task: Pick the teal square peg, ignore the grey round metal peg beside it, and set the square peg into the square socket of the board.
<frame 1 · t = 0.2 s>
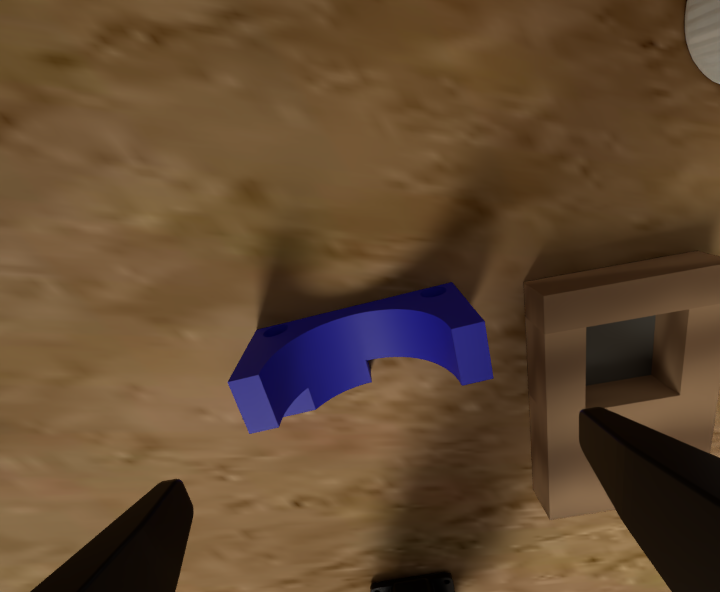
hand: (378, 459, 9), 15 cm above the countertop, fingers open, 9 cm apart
socket board: (605, 383, 25), on the countertop
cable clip: (361, 336, 24), on the countertop
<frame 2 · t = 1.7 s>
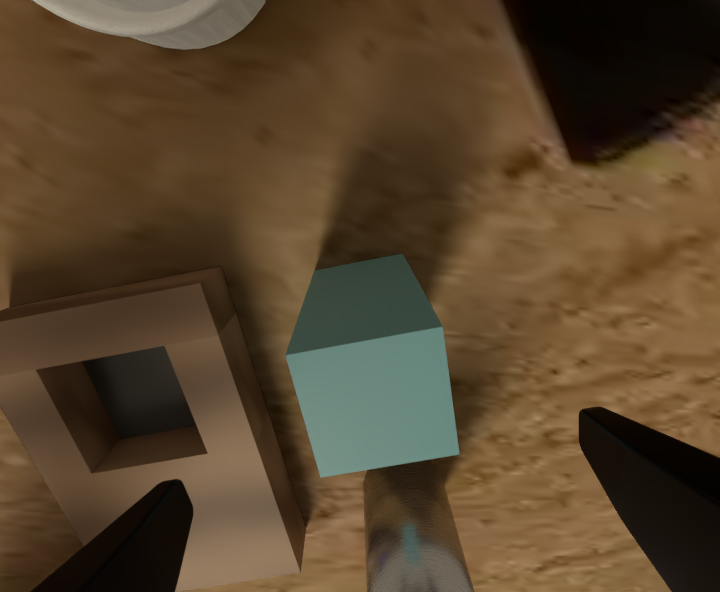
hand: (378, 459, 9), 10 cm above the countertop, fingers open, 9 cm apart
socket board: (175, 431, 20), on the countertop
square peg: (366, 303, 18), on the countertop
round peg: (402, 485, 21), on the countertop
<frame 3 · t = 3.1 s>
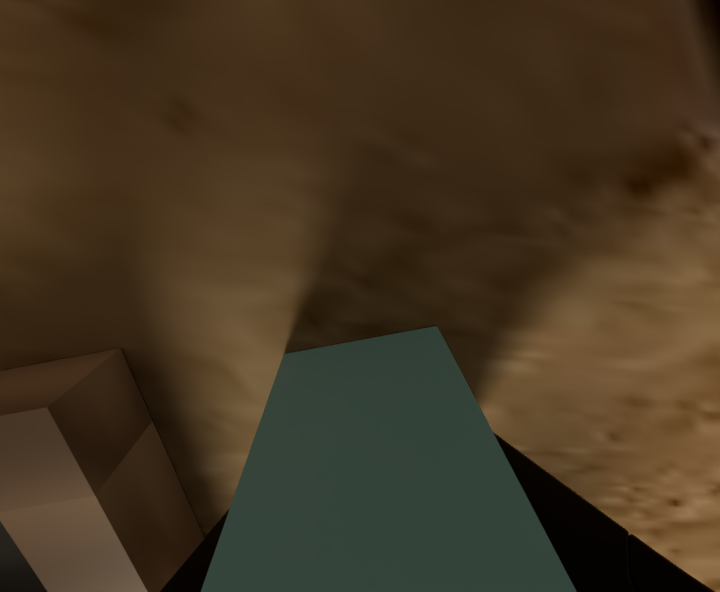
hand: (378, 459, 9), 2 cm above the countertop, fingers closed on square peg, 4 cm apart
socket board: (69, 591, 13), on the countertop
square peg: (373, 405, 11), on the countertop, touching gripper
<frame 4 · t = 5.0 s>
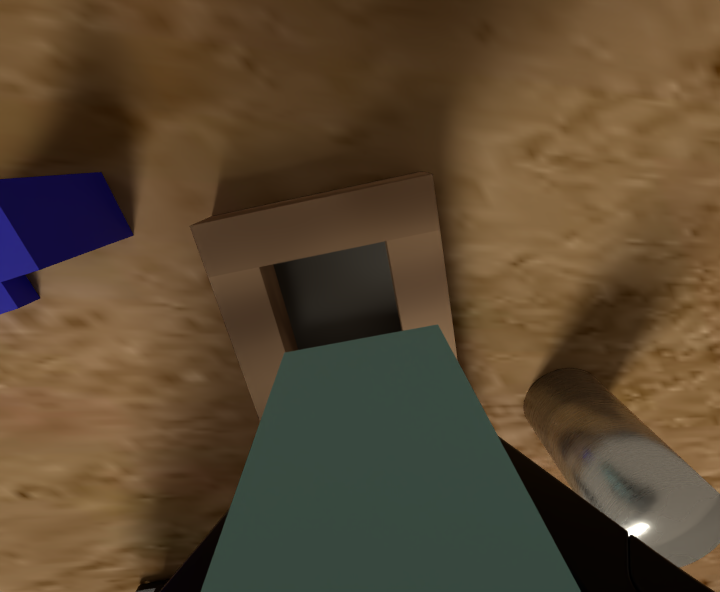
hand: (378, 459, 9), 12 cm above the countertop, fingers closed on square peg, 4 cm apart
socket board: (351, 346, 21), on the countertop
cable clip: (19, 254, 19), on the countertop
square peg: (374, 404, 11), point 10 cm above the countertop, touching gripper
round peg: (562, 402, 22), on the countertop
when the fingers open (3 cm above the countertop, at t = 7.0 s): square peg drops 1 cm, resting on socket board.
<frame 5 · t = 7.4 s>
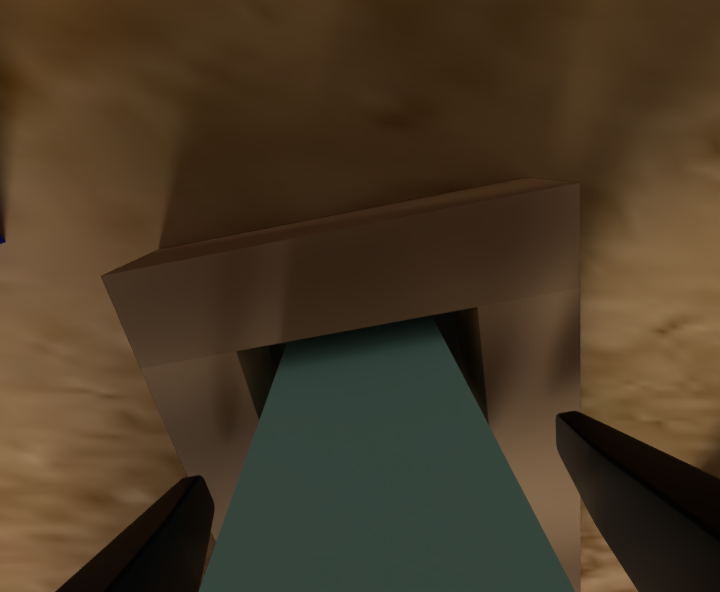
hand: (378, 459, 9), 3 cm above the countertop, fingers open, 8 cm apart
socket board: (387, 453, 13), on the countertop
square peg: (371, 379, 12), resting on socket board
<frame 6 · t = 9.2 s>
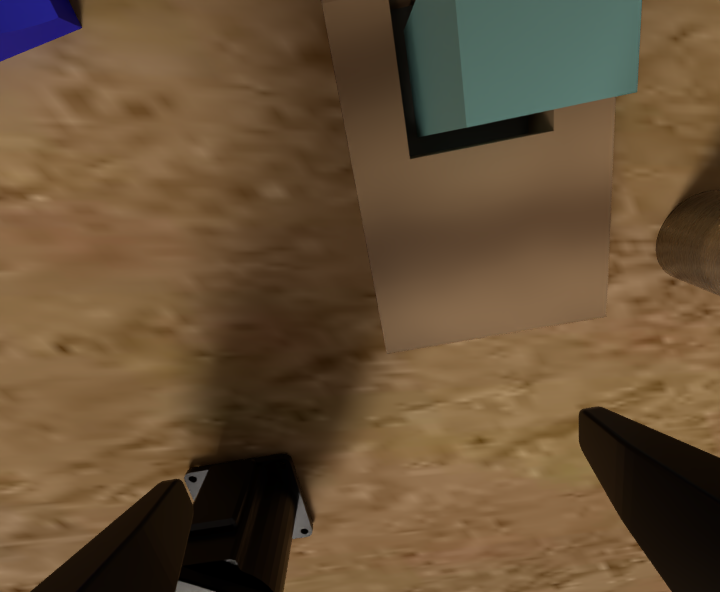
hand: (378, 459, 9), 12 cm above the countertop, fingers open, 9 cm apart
socket board: (464, 151, 17), on the countertop
square peg: (458, 75, 16), resting on socket board
round peg: (702, 237, 19), on the countertop
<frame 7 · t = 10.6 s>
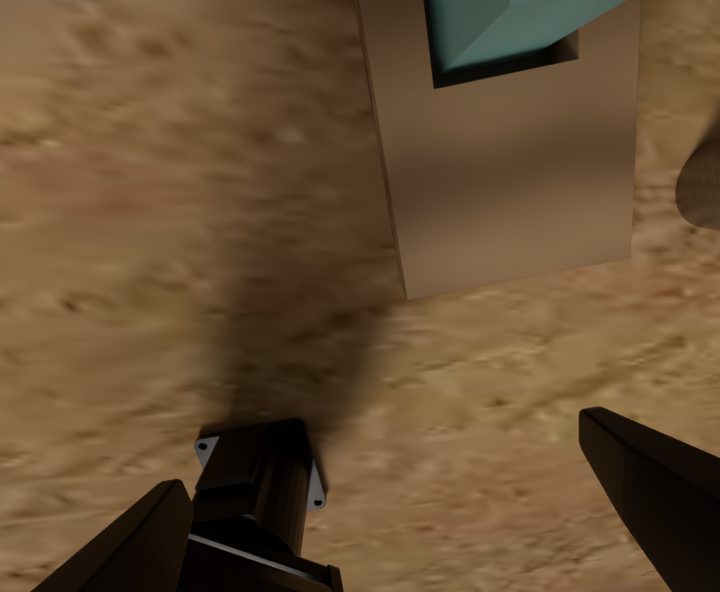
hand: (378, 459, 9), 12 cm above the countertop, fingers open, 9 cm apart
socket board: (484, 92, 17), on the countertop
square peg: (479, 12, 16), resting on socket board
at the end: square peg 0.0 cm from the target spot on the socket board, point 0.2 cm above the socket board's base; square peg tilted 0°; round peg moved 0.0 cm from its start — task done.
